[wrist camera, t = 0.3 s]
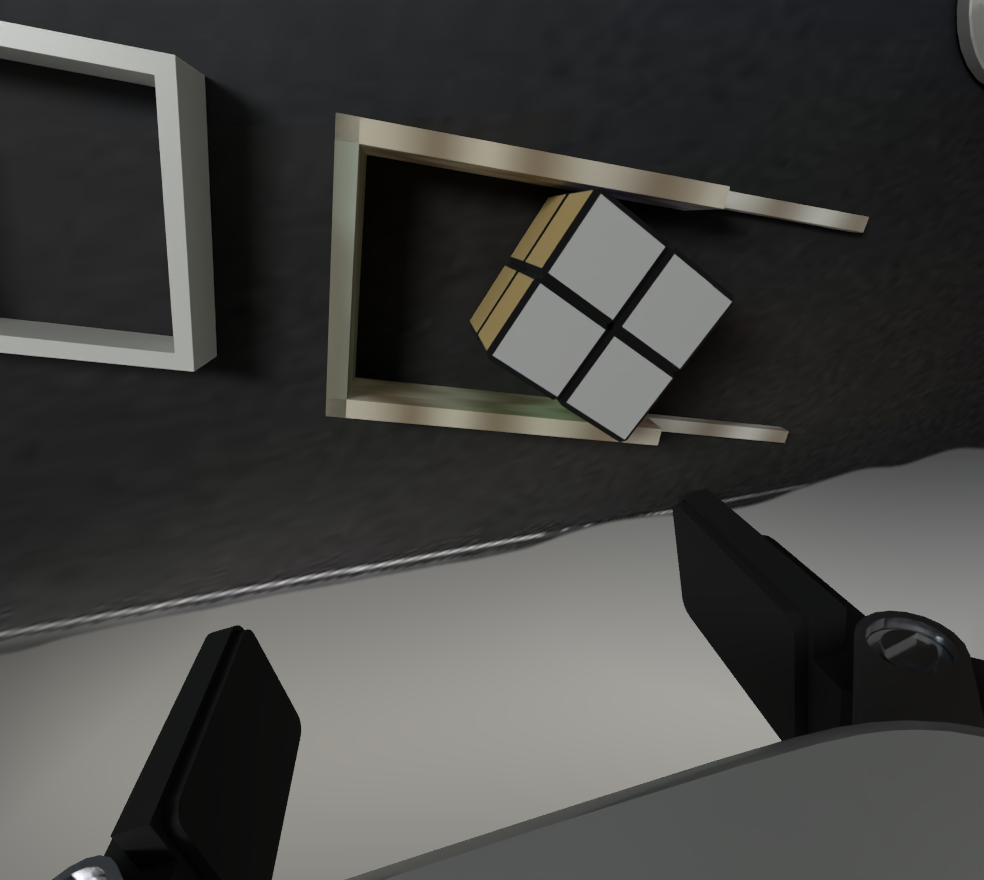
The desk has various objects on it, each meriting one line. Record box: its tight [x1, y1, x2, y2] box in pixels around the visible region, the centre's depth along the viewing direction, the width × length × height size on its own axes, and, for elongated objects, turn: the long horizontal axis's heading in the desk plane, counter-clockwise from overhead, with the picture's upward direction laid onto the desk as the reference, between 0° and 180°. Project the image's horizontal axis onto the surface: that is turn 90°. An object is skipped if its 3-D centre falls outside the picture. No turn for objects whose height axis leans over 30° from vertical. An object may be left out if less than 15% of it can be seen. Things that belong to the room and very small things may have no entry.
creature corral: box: [0, 21, 217, 372], centre depth 29 cm, size 16×16×4 cm
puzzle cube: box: [470, 188, 733, 442], centre depth 33 cm, size 10×10×10 cm
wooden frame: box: [326, 113, 869, 445], centre depth 35 cm, size 35×17×5 cm, turn 82°
